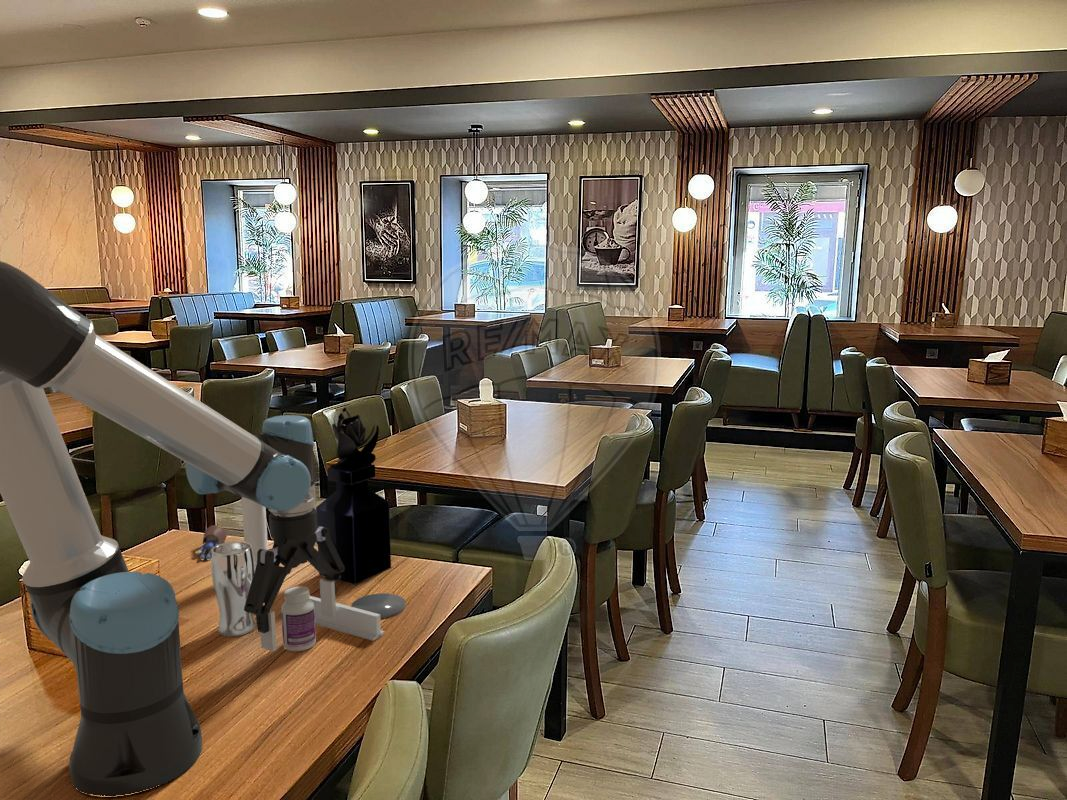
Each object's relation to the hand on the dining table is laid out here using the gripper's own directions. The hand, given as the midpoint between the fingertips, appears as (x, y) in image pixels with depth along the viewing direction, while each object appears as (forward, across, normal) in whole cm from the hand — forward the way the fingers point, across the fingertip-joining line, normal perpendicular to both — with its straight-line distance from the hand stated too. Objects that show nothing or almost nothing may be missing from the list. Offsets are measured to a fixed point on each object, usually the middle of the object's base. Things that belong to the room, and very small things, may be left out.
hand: (300, 631), depth 131 cm
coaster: (+2, +18, -2) cm, 18 cm away
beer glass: (+2, -1, +14) cm, 14 cm away
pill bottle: (+2, 0, 0) cm, 3 cm away
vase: (+3, +30, +14) cm, 33 cm away
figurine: (+3, +23, +50) cm, 55 cm away
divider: (+2, +8, -1) cm, 9 cm away
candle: (+3, +19, +31) cm, 36 cm away
